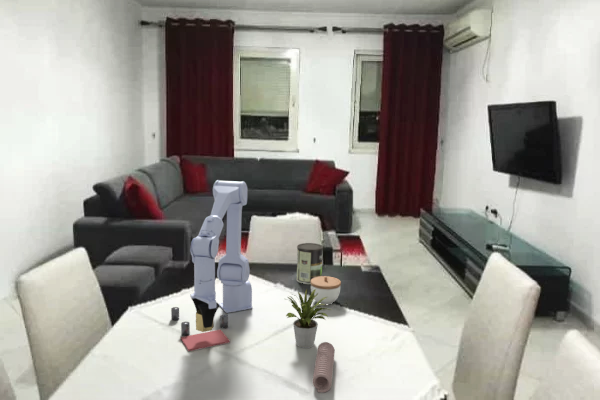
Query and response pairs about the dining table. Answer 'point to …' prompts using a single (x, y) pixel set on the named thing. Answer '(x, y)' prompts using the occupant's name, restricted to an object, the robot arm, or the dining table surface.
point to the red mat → (204, 340)
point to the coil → (324, 367)
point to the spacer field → (186, 325)
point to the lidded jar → (326, 288)
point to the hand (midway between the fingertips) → (205, 323)
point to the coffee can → (309, 262)
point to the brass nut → (201, 323)
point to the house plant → (306, 320)
